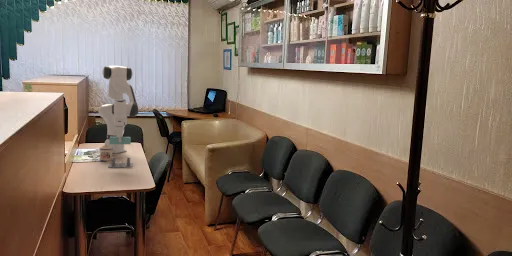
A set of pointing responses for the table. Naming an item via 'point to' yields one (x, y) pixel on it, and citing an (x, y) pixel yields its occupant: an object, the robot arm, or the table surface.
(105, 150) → the teacup with lid
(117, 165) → the display stand
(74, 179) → the table surface
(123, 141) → the frame bar
